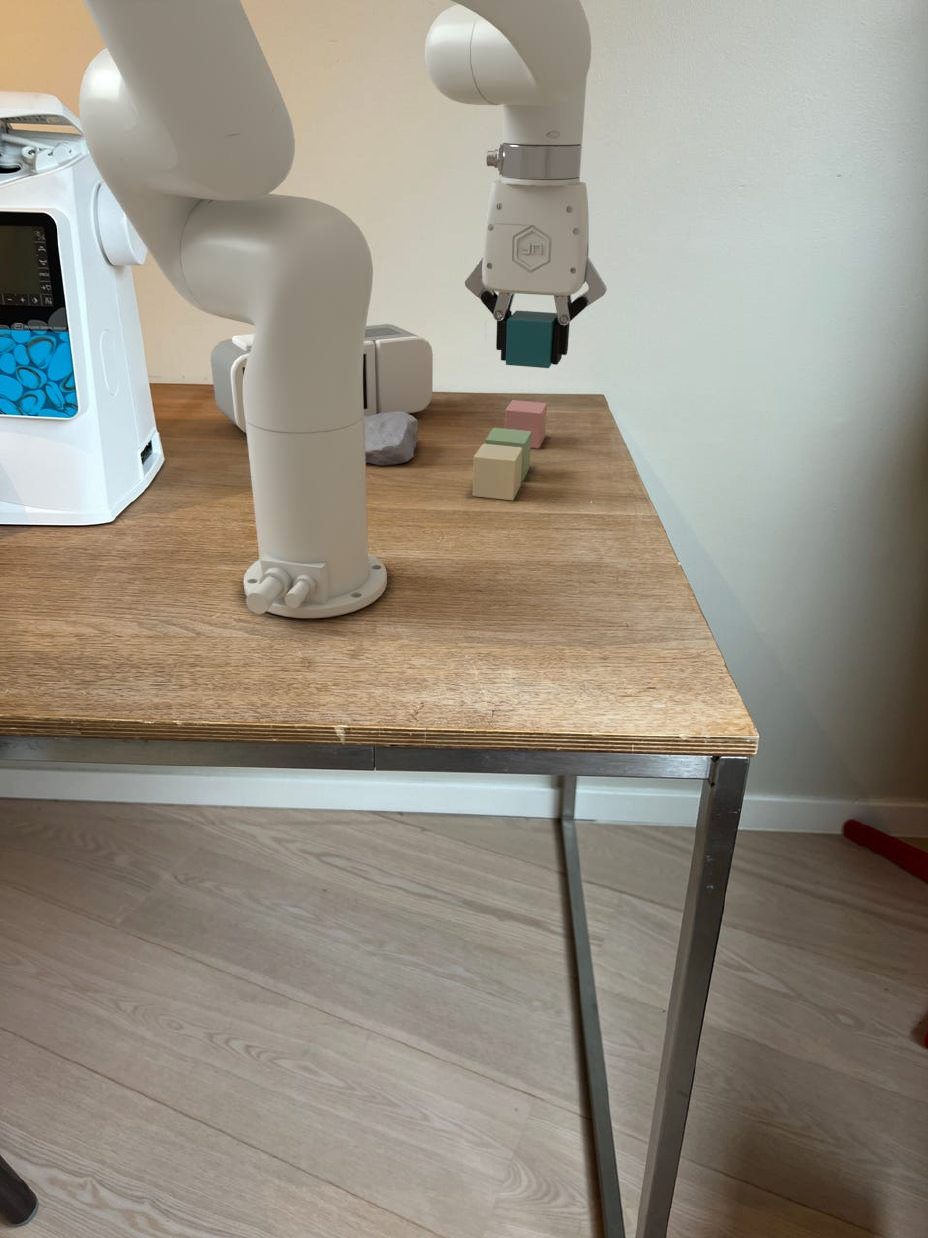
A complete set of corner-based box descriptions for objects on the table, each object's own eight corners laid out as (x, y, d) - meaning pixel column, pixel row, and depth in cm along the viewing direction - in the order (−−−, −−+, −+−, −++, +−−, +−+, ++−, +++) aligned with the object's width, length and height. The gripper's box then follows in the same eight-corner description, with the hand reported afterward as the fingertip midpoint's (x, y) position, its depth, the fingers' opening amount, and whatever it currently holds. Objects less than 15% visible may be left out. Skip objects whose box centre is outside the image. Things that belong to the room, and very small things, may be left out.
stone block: (410, 480, 108) (421, 438, 116) (407, 445, 105) (419, 404, 113) (313, 477, 110) (331, 436, 117) (307, 443, 106) (326, 402, 114)
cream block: (513, 500, 99) (515, 460, 97) (472, 496, 100) (473, 456, 98) (520, 485, 103) (522, 447, 101) (481, 481, 104) (482, 443, 102)
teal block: (549, 368, 92) (552, 322, 90) (505, 364, 93) (507, 319, 91) (556, 357, 96) (559, 312, 94) (514, 354, 97) (516, 310, 95)
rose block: (539, 448, 114) (541, 413, 112) (503, 445, 115) (505, 409, 113) (544, 437, 118) (547, 402, 116) (510, 434, 119) (512, 399, 117)
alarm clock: (240, 447, 112) (229, 350, 106) (218, 426, 119) (207, 334, 113) (433, 418, 124) (433, 329, 119) (402, 400, 131) (401, 316, 125)
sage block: (522, 481, 104) (524, 443, 102) (483, 477, 105) (485, 439, 103) (529, 468, 108) (531, 431, 106) (491, 464, 109) (493, 427, 107)
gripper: (444, 165, 84) (444, 362, 93) (626, 171, 81) (607, 375, 90) (464, 160, 90) (462, 345, 100) (634, 165, 87) (616, 356, 96)
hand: (531, 357), depth 95 cm, fingers closed on teal block, 4 cm apart
